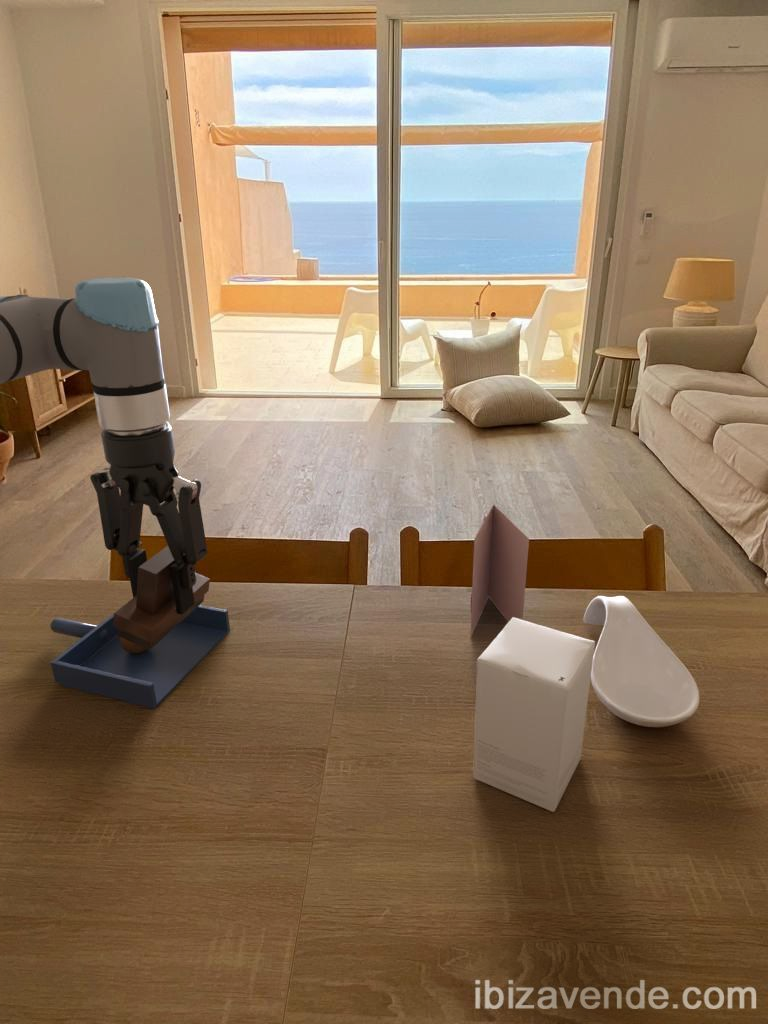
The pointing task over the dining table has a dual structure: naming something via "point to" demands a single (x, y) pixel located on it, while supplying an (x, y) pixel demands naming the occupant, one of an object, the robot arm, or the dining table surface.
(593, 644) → the white product box
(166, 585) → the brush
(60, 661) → the dustpan
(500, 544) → the greeting card
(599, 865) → the dining table surface
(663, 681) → the spoon rest
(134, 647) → the cork ball
